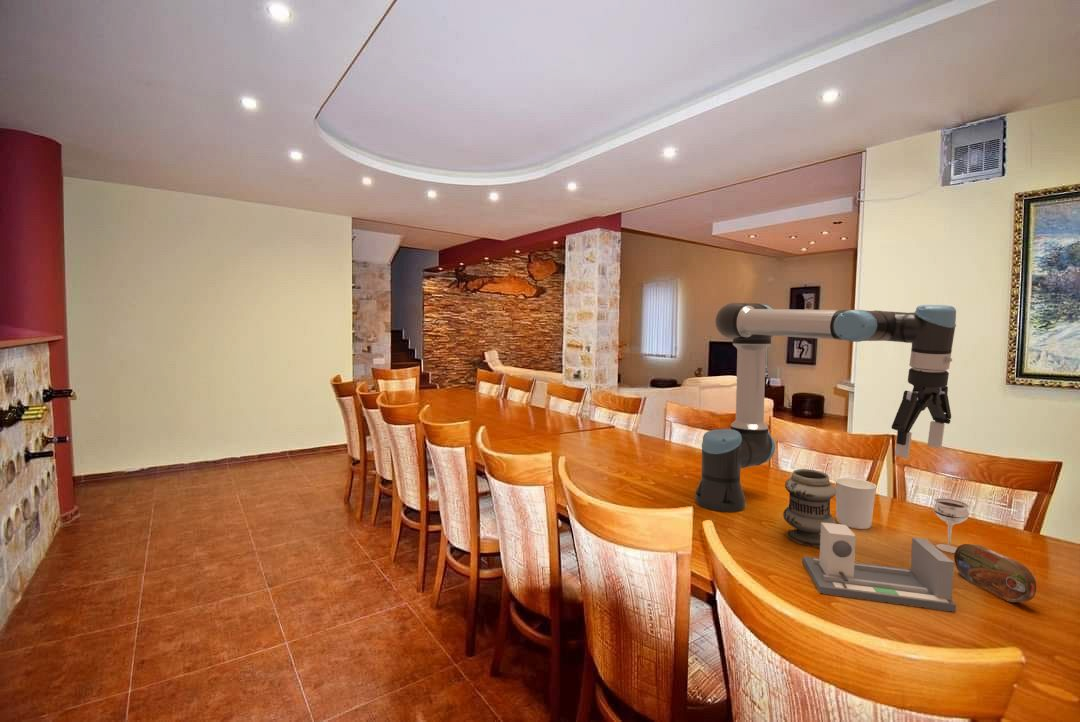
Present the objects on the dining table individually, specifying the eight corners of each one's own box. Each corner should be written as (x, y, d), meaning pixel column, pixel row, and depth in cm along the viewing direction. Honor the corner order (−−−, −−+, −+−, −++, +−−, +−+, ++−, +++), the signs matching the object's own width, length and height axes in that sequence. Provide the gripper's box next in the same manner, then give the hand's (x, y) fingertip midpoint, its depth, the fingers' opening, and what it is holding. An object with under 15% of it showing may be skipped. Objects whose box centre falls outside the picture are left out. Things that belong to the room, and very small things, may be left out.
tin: (951, 572, 108) (954, 537, 108) (964, 572, 109) (966, 536, 108) (1024, 611, 93) (1027, 570, 93) (1038, 610, 94) (1041, 570, 93)
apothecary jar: (785, 544, 122) (787, 477, 121) (780, 526, 133) (782, 464, 132) (838, 552, 118) (842, 482, 117) (829, 533, 129) (831, 469, 128)
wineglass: (969, 557, 115) (972, 510, 115) (934, 550, 119) (936, 504, 118) (963, 546, 121) (965, 501, 120) (929, 540, 125) (931, 496, 124)
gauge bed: (819, 593, 99) (821, 550, 99) (802, 562, 113) (803, 523, 112) (955, 612, 93) (958, 566, 92) (919, 576, 106) (922, 536, 106)
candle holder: (881, 531, 130) (883, 489, 129) (842, 528, 132) (844, 487, 131) (864, 518, 140) (866, 478, 139) (828, 515, 142) (829, 476, 141)
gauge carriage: (832, 585, 99) (834, 539, 99) (819, 564, 108) (821, 522, 108) (859, 589, 98) (861, 542, 97) (843, 567, 107) (845, 524, 106)
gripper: (914, 378, 105) (904, 466, 109) (976, 366, 115) (964, 447, 119) (879, 372, 112) (871, 455, 116) (940, 361, 122) (930, 438, 126)
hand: (918, 451), depth 118 cm, fingers open, 13 cm apart
